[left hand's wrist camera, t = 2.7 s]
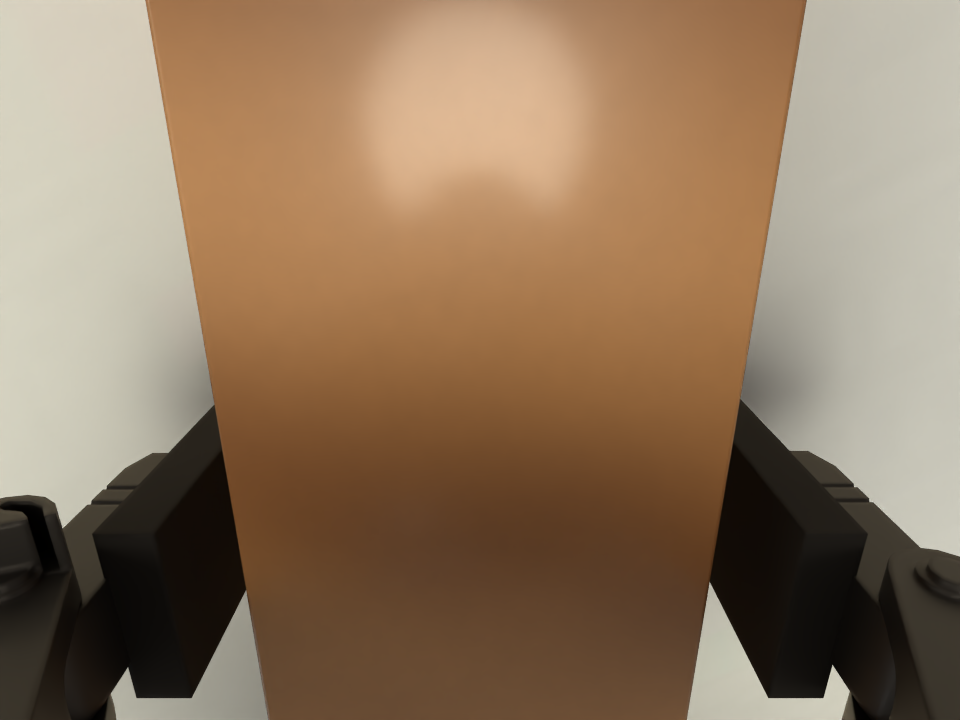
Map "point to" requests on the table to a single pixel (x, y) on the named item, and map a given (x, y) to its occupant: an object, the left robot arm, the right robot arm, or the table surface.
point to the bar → (476, 332)
